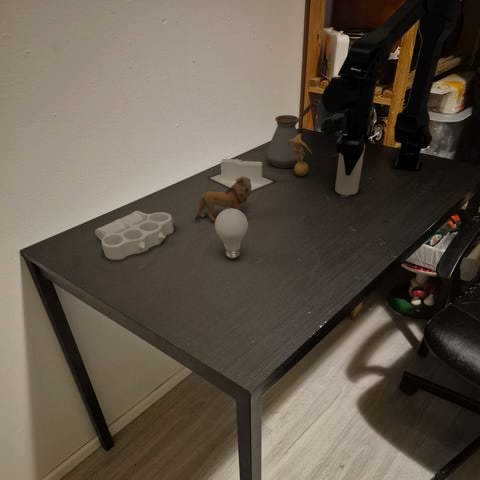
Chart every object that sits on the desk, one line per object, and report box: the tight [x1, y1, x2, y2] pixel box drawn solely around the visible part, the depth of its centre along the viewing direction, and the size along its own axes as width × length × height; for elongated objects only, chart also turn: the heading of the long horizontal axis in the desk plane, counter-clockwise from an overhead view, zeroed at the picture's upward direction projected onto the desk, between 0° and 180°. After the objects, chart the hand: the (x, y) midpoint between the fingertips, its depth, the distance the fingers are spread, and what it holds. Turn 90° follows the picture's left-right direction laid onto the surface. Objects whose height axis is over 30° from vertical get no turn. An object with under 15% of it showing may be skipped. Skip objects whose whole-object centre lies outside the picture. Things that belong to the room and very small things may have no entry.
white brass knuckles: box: [94, 210, 175, 261], centre depth 95 cm, size 3×18×15 cm
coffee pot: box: [265, 98, 321, 169], centre depth 126 cm, size 21×12×15 cm, turn 138°
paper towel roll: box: [334, 146, 366, 196], centre depth 108 cm, size 6×12×6 cm
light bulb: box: [214, 207, 249, 260], centre depth 86 cm, size 7×7×11 cm
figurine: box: [287, 133, 313, 177], centre depth 116 cm, size 8×6×12 cm
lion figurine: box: [194, 176, 252, 222], centre depth 101 cm, size 15×5×9 cm, turn 110°
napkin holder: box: [210, 158, 274, 192], centre depth 118 cm, size 15×11×6 cm
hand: (350, 169), depth 109 cm, fingers open, 7 cm apart
